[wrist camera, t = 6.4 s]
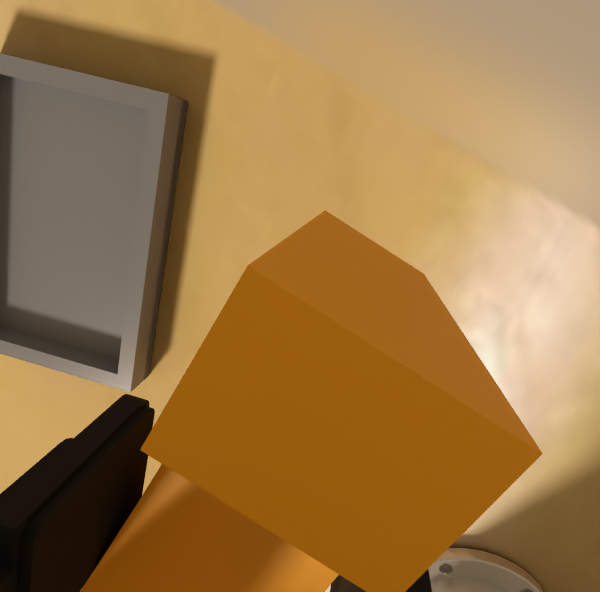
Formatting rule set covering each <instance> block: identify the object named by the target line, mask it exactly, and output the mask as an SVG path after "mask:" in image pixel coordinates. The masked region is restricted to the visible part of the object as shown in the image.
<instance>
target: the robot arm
mask: <svg viewBox="0 0 600 592" xmlns="http://www.w3.org/2000/svg"><path fill="white" fill-rule="evenodd" d="M154 413H155V411H154V409H153V408H150V407H149V401H148V400H145V399H142V398H138V397H135V396H132V395H128V394H125V395H123V396H122V397H120V398H119V399H118V400H117V401H116V402H115V403H114V404H112V405H111V406H110V407H109V408H108V409H107V410H106V411H105V412H103V413H102V414H101V415H100V416H99V417H98V418H97V419H95V420H94V421H93V422H92V423H91V424H90V425H89V426H87V427H86V428H85V429H84V430H83V431H82V432H81V433H79V434H78V435H77V436H76V437H75V438H74V439H73V438H68V439H65V440H64V441H62V442H61V443H60V444H58V445H57V446H56V447H55V448H54V449H53V450H51V451H50V452H49V453H48V454H47V455H46V456H44V457H43V458H42V459H41V460H40V461H39V462H37V463H36V464H35V465H34V466H33V467H32V468H30V469H29V470H28V471H27V472H26V473H24V474H23V475H22V476H21V477H20V478H19V479H17V480H16V481H15V482H14V483H13V484H12V485H10V486H9V487H8V488H7V489H6V490H5V491H3V492H2V493H1V494H0V592H80V590H81V589H82V588H83V586H84V585H85V583H86V582H87V580H88V579H89V577H90V576H91V574H92V573H93V571H94V570H95V568H96V567H97V565H98V564H99V562H100V561H101V559H102V558H103V556H104V554H105V553H106V551H107V550H108V548H109V547H110V545H111V544H112V542H113V541H114V539H115V538H116V536H117V534H118V533H119V531H120V530H121V528H122V527H123V525H124V524H125V522H126V520H127V519H128V517H129V516H130V514H131V513H132V511H133V510H134V508H135V506H136V505H137V503H138V502H139V500H140V499H141V497H142V491H143V485H144V478H145V472H146V465H147V459H148V455H147V454H146V453H144V452H143V451H141V450H140V449H141V447H142V446H143V444H144V442H145V441H146V439H147V437H148V435H149V434H150V432H151V430H152V427H153V420H154ZM330 592H366V591H364V590H363V589H361V588H360V587H358V586H357V585H355V584H353V583H352V582H350V581H349V580H347V579H345V578H344V577H342V576H341V575H338V576H337V577H336V579H335V580H334V581H333V582H332V583H331V589H330ZM406 592H544V591H543V590H542V588H541V586H540V585H539V584H538V583H537V582H536V581H535V580H534V579H533V578H532V577H531V575H530V574H529V573H527V572H526V571H524V570H523V569H522V568H520V567H519V566H517V565H516V564H515V563H512V562H510V561H508V560H506V559H504V558H502V557H500V556H498V555H494V554H491V553H488V552H484V551H481V550H474V549H468V548H448V549H447V550H446V551H445V552H444V553H443V554H442V555H441V556H440V557H439V558H438V559H437V560H436V561H435V562H434V563H433V564H432V565H431V566H430V567H429V568H428V569H427V570H426V571H425V572H424V573H423V574H422V575H421V576H420V577H419V578H418V579H417V580H416V581H415V582H414V583H413V584H412V585H411V586H410V587H409V588H408V589H407V590H406Z"/></svg>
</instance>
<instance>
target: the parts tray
mask: <svg viewBox="0 0 600 592" xmlns="http://www.w3.org/2000/svg"><path fill="white" fill-rule="evenodd" d="M187 106H188V102H187V101H185V100H182V99H180V98H178V97H176V96H173V95H171V94H169V93H164V92H160V91H156V90H152V89H148V88H144V87H139V86H135V85H131V84H127V83H123V82H119V81H114V80H110V79H106V78H102V77H98V76H93V75H89V74H85V73H81V72H77V71H73V70H68V69H64V68H60V67H56V66H52V65H48V64H43V63H39V62H35V61H31V60H27V59H23V58H18V57H14V56H10V55H6V54H2V53H0V354H3V355H7V356H10V357H14V358H17V359H20V360H24V361H27V362H30V363H34V364H37V365H40V366H44V367H47V368H50V369H54V370H57V371H61V372H64V373H67V374H71V375H74V376H77V377H81V378H84V379H87V380H91V381H94V382H98V383H101V384H104V385H108V386H111V387H114V388H118V389H121V390H124V391H128V392H131V391H132V390H133V389H135V388H136V387H137V386H138V385H139V384H140V383H141V382H142V381H143V380H144V379H145V378H147V377H148V376H149V373H150V366H151V359H152V352H153V345H154V338H155V331H156V324H157V317H158V310H159V303H160V296H161V289H162V282H163V275H164V268H165V261H166V254H167V246H168V239H169V232H170V225H171V218H172V211H173V204H174V197H175V190H176V183H177V176H178V169H179V162H180V155H181V148H182V141H183V134H184V127H185V120H186V113H187Z"/></svg>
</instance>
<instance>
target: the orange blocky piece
mask: <svg viewBox="0 0 600 592" xmlns="http://www.w3.org/2000/svg"><path fill="white" fill-rule="evenodd" d="M140 450H141V451H143V452H144V453H146V454H147V455H149V456H151V457H152V458H154V459H155V460H157V461H159V462H160V463H162V465H161V466H160V468H159V470H158V471H157V473H156V475H155V476H154V478H153V479H152V481H151V483H150V484H149V486H148V487H147V489H146V491H145V492H144V494H143V495H142V497H141V499H140V500H139V502H138V503H137V505H136V506H135V508H134V510H133V511H132V513H131V514H130V516H129V517H128V519H127V520H126V522H125V524H124V525H123V527H122V528H121V530H120V531H119V533H118V534H117V536H116V538H115V539H114V541H113V542H112V544H111V545H110V547H109V548H108V550H107V551H106V553H105V554H104V556H103V558H102V559H101V561H100V562H99V564H98V565H97V567H96V568H95V570H94V571H93V573H92V574H91V576H90V577H89V579H88V580H87V582H86V583H85V585H84V587H83V588H82V590H81V591H80V592H325V591H326V589H327V588H328V587H329V585H330V584H331V583H332V582H333V581H334V580H335V579H336V577H337V576H338V575H341V576H342V577H344V578H345V579H347V580H349V581H350V582H352V583H353V584H355V585H357V586H358V587H360V588H361V589H363V590H364V591H366V592H406V590H407V589H408V588H409V587H410V586H411V585H412V584H413V583H414V582H415V581H416V580H417V579H418V578H419V577H420V576H421V575H422V574H423V573H424V572H425V571H426V570H427V569H428V568H429V567H430V566H431V565H432V564H433V563H434V562H435V561H436V560H437V559H438V558H439V557H440V556H441V555H442V554H443V553H444V552H445V551H446V550H447V549H448V548H449V547H450V546H451V545H452V544H453V543H454V542H455V541H456V540H457V539H458V538H459V537H460V536H461V535H462V534H463V533H464V532H465V531H466V530H467V529H468V528H469V527H470V526H471V525H472V524H473V523H474V522H475V521H476V520H477V519H478V518H479V517H480V516H481V515H482V514H483V513H484V512H485V511H486V510H487V509H488V508H489V507H490V506H491V505H492V504H493V503H494V502H495V501H496V500H497V499H498V498H499V497H500V496H501V495H502V494H503V493H504V492H505V491H506V490H507V489H508V488H509V487H510V486H511V485H512V484H513V483H514V482H515V481H516V480H517V479H518V478H519V477H520V476H521V475H522V474H523V473H524V472H525V471H526V470H527V469H528V468H529V467H530V466H531V465H532V464H533V463H534V462H535V461H536V460H537V459H538V458H539V457H540V456H541V455H542V452H541V451H540V449H539V447H538V446H537V444H536V443H535V441H534V440H533V438H532V437H531V435H530V434H529V432H528V431H527V429H526V428H525V426H524V425H523V423H522V422H521V420H520V419H519V417H518V416H517V414H516V413H515V411H514V410H513V408H512V407H511V405H510V404H509V402H508V401H507V399H506V398H505V396H504V395H503V393H502V391H501V390H500V388H499V387H498V385H497V384H496V382H495V381H494V379H493V378H492V376H491V375H490V373H489V372H488V370H487V369H486V367H485V366H484V364H483V363H482V361H481V360H480V358H479V357H478V355H477V354H476V352H475V351H474V349H473V348H472V346H471V345H470V343H469V342H468V340H467V339H466V337H465V335H464V334H463V332H462V331H461V329H460V328H459V326H458V325H457V323H456V322H455V320H454V319H453V317H452V316H451V314H450V313H449V311H448V310H447V308H446V307H445V305H444V304H443V302H442V301H441V299H440V298H439V296H438V295H437V293H436V292H435V290H434V289H433V287H432V286H431V284H430V283H429V281H428V279H427V278H426V276H425V275H424V274H423V273H422V272H420V271H419V270H417V269H415V268H414V267H412V266H411V265H409V264H408V263H406V262H405V261H403V260H401V259H400V258H398V257H397V256H395V255H394V254H392V253H391V252H389V251H387V250H386V249H384V248H383V247H381V246H380V245H378V244H377V243H375V242H373V241H372V240H370V239H369V238H367V237H366V236H364V235H363V234H361V233H359V232H358V231H356V230H355V229H353V228H352V227H350V226H349V225H347V224H345V223H344V222H342V221H341V220H339V219H338V218H336V217H335V216H333V215H331V214H330V213H328V212H327V211H324V212H322V213H321V214H320V215H318V216H317V217H315V218H314V219H313V220H311V221H310V222H308V223H307V224H306V225H304V226H303V227H301V228H300V229H299V230H297V231H296V232H294V233H293V234H291V235H290V236H289V237H287V238H286V239H284V240H283V241H282V242H280V243H279V244H277V245H276V246H275V247H273V248H272V249H270V250H269V251H268V252H266V253H265V254H263V255H262V256H261V257H259V258H258V259H256V260H255V261H254V262H252V263H251V264H249V265H248V266H247V268H246V270H245V271H244V273H243V275H242V276H241V278H240V280H239V282H238V283H237V285H236V287H235V288H234V290H233V292H232V294H231V295H230V297H229V299H228V300H227V302H226V304H225V306H224V307H223V309H222V311H221V312H220V314H219V316H218V317H217V319H216V321H215V323H214V324H213V326H212V328H211V329H210V331H209V333H208V335H207V336H206V338H205V340H204V341H203V343H202V345H201V347H200V348H199V350H198V352H197V353H196V355H195V357H194V359H193V360H192V362H191V364H190V365H189V367H188V369H187V370H186V372H185V374H184V376H183V377H182V379H181V381H180V382H179V384H178V386H177V388H176V389H175V391H174V393H173V394H172V396H171V398H170V400H169V401H168V403H167V405H166V406H165V408H164V410H163V412H162V413H161V415H160V417H159V418H158V420H157V422H156V424H155V425H154V427H153V429H152V430H151V432H150V434H149V435H148V437H147V439H146V441H145V442H144V444H143V446H142V447H141V449H140Z"/></svg>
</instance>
